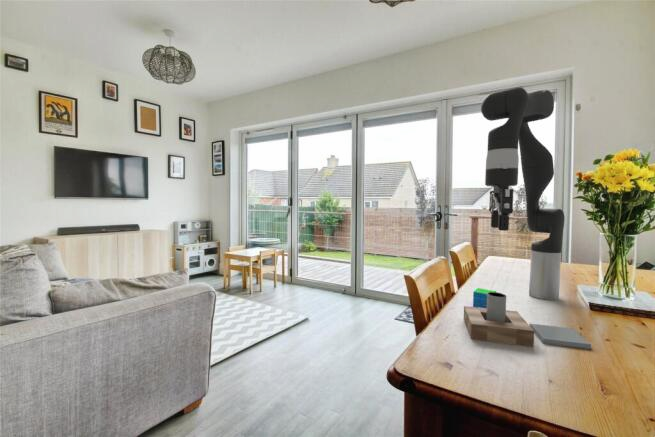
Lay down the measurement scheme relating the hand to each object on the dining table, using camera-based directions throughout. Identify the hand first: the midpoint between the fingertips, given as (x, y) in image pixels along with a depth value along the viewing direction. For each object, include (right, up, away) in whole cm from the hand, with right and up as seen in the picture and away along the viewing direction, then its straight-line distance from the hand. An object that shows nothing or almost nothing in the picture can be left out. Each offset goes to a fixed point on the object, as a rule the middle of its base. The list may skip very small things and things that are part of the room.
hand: (499, 228), depth 82 cm
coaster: (+14, -28, -2) cm, 32 cm away
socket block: (0, -28, +1) cm, 28 cm away
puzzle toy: (+7, -27, +20) cm, 35 cm away
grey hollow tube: (0, -28, +2) cm, 28 cm away
